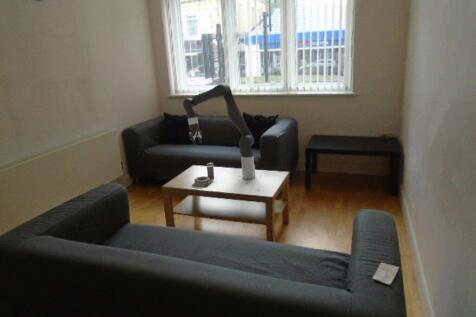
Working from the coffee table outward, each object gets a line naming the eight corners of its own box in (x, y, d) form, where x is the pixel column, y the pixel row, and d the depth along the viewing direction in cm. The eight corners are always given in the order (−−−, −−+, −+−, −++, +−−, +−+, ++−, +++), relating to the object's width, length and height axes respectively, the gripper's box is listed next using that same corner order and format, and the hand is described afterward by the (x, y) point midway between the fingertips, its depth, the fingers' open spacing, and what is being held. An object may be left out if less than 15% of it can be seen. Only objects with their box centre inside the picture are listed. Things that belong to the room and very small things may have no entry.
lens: (215, 177, 292) (214, 162, 289) (212, 179, 288) (211, 164, 285) (209, 177, 294) (208, 162, 291) (206, 179, 290) (205, 164, 286)
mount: (213, 181, 283) (212, 176, 282) (206, 187, 272) (206, 182, 271) (199, 180, 287) (198, 175, 286) (191, 186, 276) (191, 180, 275)
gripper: (192, 123, 287) (196, 144, 288) (202, 121, 299) (206, 141, 301) (184, 125, 290) (188, 145, 292) (195, 123, 303) (198, 143, 304)
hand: (197, 143), depth 296 cm, fingers open, 8 cm apart
